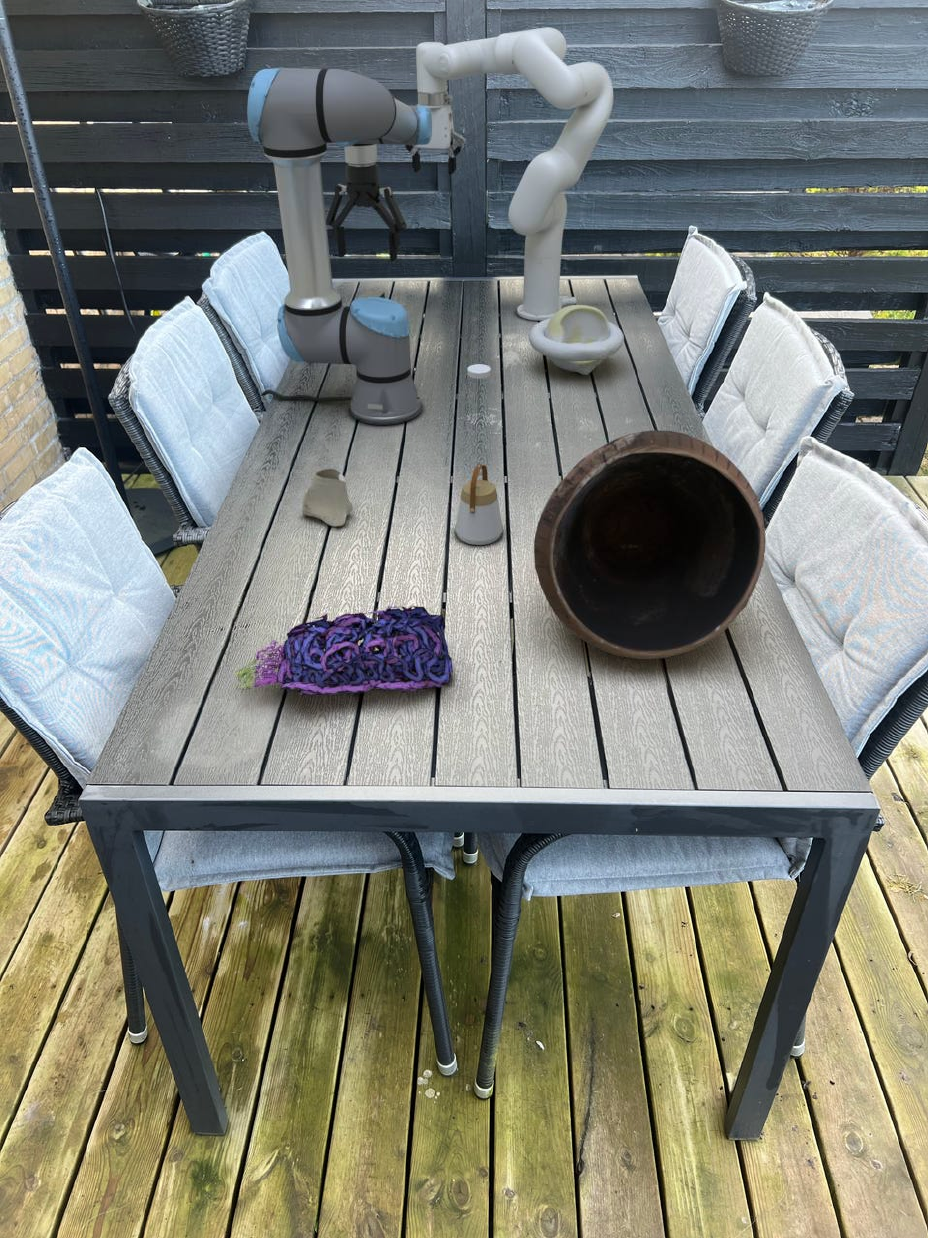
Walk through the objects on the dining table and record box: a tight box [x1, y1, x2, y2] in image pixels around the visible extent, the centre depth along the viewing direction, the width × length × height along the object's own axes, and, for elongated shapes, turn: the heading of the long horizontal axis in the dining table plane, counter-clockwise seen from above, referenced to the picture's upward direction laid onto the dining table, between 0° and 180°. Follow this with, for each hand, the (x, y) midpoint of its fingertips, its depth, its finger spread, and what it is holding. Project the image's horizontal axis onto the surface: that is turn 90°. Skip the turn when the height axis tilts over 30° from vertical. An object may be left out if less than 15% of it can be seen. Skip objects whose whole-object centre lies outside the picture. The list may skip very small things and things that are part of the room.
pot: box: [533, 429, 767, 660], centre depth 139 cm, size 32×32×30 cm
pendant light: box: [455, 363, 503, 546], centre depth 153 cm, size 8×8×30 cm
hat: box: [528, 304, 625, 376], centre depth 215 cm, size 25×22×15 cm
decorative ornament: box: [235, 605, 454, 697], centre depth 129 cm, size 13×11×30 cm
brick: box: [356, 289, 386, 299], centre depth 238 cm, size 7×5×9 cm
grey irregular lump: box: [301, 468, 353, 528], centre depth 164 cm, size 9×8×10 cm
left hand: (367, 257), depth 229 cm, fingers open, 13 cm apart
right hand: (434, 172), depth 247 cm, fingers open, 9 cm apart
